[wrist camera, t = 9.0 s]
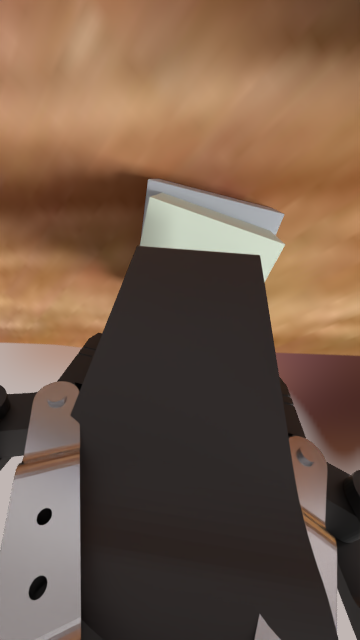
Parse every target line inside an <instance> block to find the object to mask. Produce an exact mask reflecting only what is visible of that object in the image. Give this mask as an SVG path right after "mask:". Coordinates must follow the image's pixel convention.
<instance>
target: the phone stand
mask: <svg viewBox="0 0 360 640" xmlns="http://www.w3.org/2000/svg"><path fill="white" fill-rule="evenodd" d="M70 416H71V417H72V418H74V419H75V420H76V421H77V422H78V423H79V424H80V477H81V609H82V620H83V621H84V622H85V623H86V624H87V625H88V626H89V627H90V628H91V629H92V630H93V631H94V632H95V633H96V634H98V635H99V636H100V637H101V638H102V639H104V640H252V639H253V636H254V632H255V629H256V625H257V621H258V618H259V614H260V615H261V616H262V618H263V619H264V620H265V622H266V623H267V625H268V626H269V627H270V628H271V629H272V630H273V632H274V633H275V634H276V635H277V636H278V637H279V638H280V639H281V640H338V636H337V632H336V627H335V623H334V619H333V615H332V611H331V608H330V604H329V600H328V597H327V594H326V590H325V587H324V584H323V581H322V578H321V575H320V572H319V569H318V566H317V563H316V560H315V557H314V554H313V550H312V547H311V544H310V540H309V537H308V533H307V530H306V526H305V522H304V518H303V514H302V510H301V506H300V501H299V497H298V492H297V486H296V481H295V475H294V469H293V463H292V456H291V450H290V443H289V437H288V431H287V424H286V418H285V411H284V405H283V398H282V392H281V386H280V379H279V374H278V367H277V360H276V354H275V347H274V341H273V334H272V328H271V322H270V315H269V309H268V302H267V296H266V290H265V283H264V277H263V270H262V264H261V257H260V255H254V254H241V253H227V252H214V251H201V250H188V249H174V248H161V247H148V246H137V248H136V250H135V253H134V255H133V258H132V260H131V263H130V265H129V268H128V270H127V273H126V275H125V278H124V280H123V283H122V285H121V288H120V290H119V293H118V296H117V298H116V301H115V303H114V306H113V308H112V311H111V313H110V316H109V318H108V321H107V323H106V326H105V328H104V331H103V333H102V336H101V339H100V341H99V344H98V346H97V349H96V351H95V354H94V356H93V359H92V361H91V364H90V366H89V369H88V371H87V374H86V376H85V379H84V381H83V384H82V387H81V389H80V392H79V394H78V397H77V399H76V402H75V404H74V407H73V409H72V412H71V414H70ZM50 519H51V518H46V519H45V520H44V521H43V522H42V523H41V525H45V524H46V523H48V522H49V520H50Z"/></svg>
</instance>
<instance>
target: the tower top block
mask: <svg viewBox="0 0 360 640" xmlns="http://www.w3.org/2000/svg"><path fill="white" fill-rule="evenodd" d="M140 246H148V247H161V248H174V249H188V250H201V251H214V252H227V253H241V254H254V255H260V257H261V264H262V270H263V277H264V282H265V280H266V278H267V277H268V275H269V273H270V271H271V269H272V267H273V266H274V264H275V262H276V260H277V258H278V257H279V255H280V253H281V251H282V249H283V248H284V246H285V244H284V243H283V242H282V241H281V240H280V239H279V238H277V237H276V236H275V235H274V234H273V233H272V232H271V231H270V230H267V229H264V228H261V227H258V226H256V225H253V224H250V223H247V222H244V221H241V220H239V219H236V218H233V217H230V216H227V215H224V214H222V213H219V212H216V211H213V210H210V209H208V208H205V207H202V206H199V205H196V204H193V203H191V202H188V201H185V200H182V199H179V198H176V197H174V196H171V195H168V194H165V193H160V194H157V195H154V196H151V197H150V198H149V203H148V208H147V213H146V217H145V222H144V227H143V232H142V237H141V242H140Z"/></svg>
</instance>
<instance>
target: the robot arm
mask: <svg viewBox="0 0 360 640" xmlns="http://www.w3.org/2000/svg"><path fill="white" fill-rule="evenodd" d="M101 336H102V333H97V334H96V335H94V336H92V337H91V338H89V339H88V341H87V342H86V343H85V345H84V346H83V348H82V349H81V350H80V352H79V354H78V355H77V356H76V357H75V358H74V360H73V361H72V363H71V364H70V365H69V367H68V368H67V369H66V370H65V372H64V373H63V375H62V376H61V377H60V379H59V380H58V381H57V382H54V383H51V384H49V385H46V386H44V387H43V388H42V389H40V390H39V391H38V392H35V393H23V394H7V393H6V390H5V389H4V388H3V387H2V386H1V385H0V470H1V469H2V468H3V467H4V466H5V464H6V463H7V462H8V461H9V460H10V459H11V457H14V456H22V455H24V457H23V461H22V463H20V464H19V465H18V466H17V469H16V472H15V476H14V481H13V486H12V492H11V497H10V502H9V507H8V513H7V518H6V524H5V529H4V534H3V539H2V545H1V550H0V640H104V639H102V638H101V637H100V636H99V635H98V634H96V633H95V632H94V631H93V630H92V629H91V628H90V627H89V626H88V625H87V624H86V623H85V622H84V621H83V620H82V609H81V477H80V424H79V423H78V422H77V421H76V420H75V419H74V418H72V417H71V416H70V414H71V412H72V409H73V407H74V404H75V402H76V399H77V397H78V394H79V392H80V389H81V387H82V384H83V381H84V379H85V376H86V374H87V371H88V369H89V366H90V364H91V361H92V359H93V356H94V354H95V351H96V349H97V346H98V344H99V341H100V339H101ZM279 379H280V386H281V392H282V398H283V405H284V411H285V418H286V424H287V431H288V437H289V443H290V450H291V456H292V463H293V469H294V475H295V481H296V486H297V492H298V497H299V501H300V506H301V510H302V514H303V518H304V522H305V526H306V530H307V533H308V537H309V540H310V544H311V547H312V550H313V554H314V557H315V560H316V563H317V566H318V569H319V572H320V575H321V578H322V581H323V584H324V587H325V590H326V594H327V597H328V600H329V604H330V608H331V611H332V615H333V619H334V623H335V627H336V632H337V589H338V591H339V594H340V596H341V599H342V602H343V604H344V606H345V609H346V612H347V615H348V617H349V620H350V622H351V625H352V628H353V630H354V633H355V635H356V638H357V640H360V470H358V471H356V472H354V473H353V474H352V475H349V474H347V473H346V472H344V471H342V470H340V469H338V468H336V467H335V466H333V465H331V464H329V463H328V462H326V460H325V458H324V456H323V454H322V453H321V451H320V450H319V449H318V448H317V447H316V446H315V445H314V444H313V443H312V442H310V441H309V440H307V439H306V437H305V435H304V432H303V429H302V426H301V423H300V421H299V418H298V415H297V413H296V410H295V407H294V406H293V402H292V399H291V398H290V394H289V391H288V388H287V386H286V384H285V383H284V382H283V381H282V379H281V378H280V377H279ZM46 518H51V519H50V520H49V522H48V523H46V524H45V525H41V523H42V522H43V521H44V520H45V519H46ZM252 640H281V639H280V638H279V637H278V636H277V635H276V634H275V633H274V632H273V630H272V629H271V628H270V627H269V626H268V625H267V623H266V622H265V620H264V619H263V618H262V616H261V615H260V614H259V618H258V621H257V625H256V629H255V632H254V636H253V639H252Z"/></svg>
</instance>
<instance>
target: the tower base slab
mask: <svg viewBox="0 0 360 640" xmlns="http://www.w3.org/2000/svg"><path fill="white" fill-rule="evenodd" d="M160 193H165V194H168V195H171V196H174V197H176V198H179V199H182V200H185V201H188V202H191V203H193V204H196V205H199V206H202V207H205V208H208V209H210V210H213V211H216V212H219V213H222V214H224V215H227V216H230V217H233V218H236V219H239V220H241V221H244V222H247V223H250V224H253V225H256V226H258V227H261V228H264V229H267V230H270V231H271V232H272V233H273V234H274V235H276V233H277V230H278V228H279V226H280V224H281V221H282V219H283V217H284V214H283V213H281V212H279V211H277V210H275V209H273V208H270V207H266V206H262V205H258V204H254V203H251V202H247V201H243V200H239V199H235V198H231V197H227V196H223V195H220V194H216V193H212V192H208V191H204V190H200V189H196V188H192V187H188V186H185V185H181V184H177V183H173V182H169V181H165V180H161V179H148V185H147V193H146V201H145V210H144V218H143V227H144V222H145V217H146V213H147V208H148V203H149V198H150V197H151V196H154V195H157V194H160ZM143 227H142V232H143ZM141 237H142V235H141Z"/></svg>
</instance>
